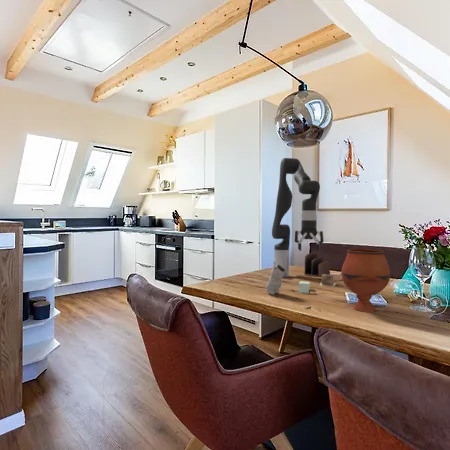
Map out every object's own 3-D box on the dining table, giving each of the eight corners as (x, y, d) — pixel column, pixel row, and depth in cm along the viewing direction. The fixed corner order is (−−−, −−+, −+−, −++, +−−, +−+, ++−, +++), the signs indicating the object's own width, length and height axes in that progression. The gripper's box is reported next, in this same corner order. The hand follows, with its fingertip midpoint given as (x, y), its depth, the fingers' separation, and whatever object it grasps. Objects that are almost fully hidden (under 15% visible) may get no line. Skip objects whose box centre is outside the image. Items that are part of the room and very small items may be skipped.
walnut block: (321, 284, 182) (321, 275, 182) (322, 282, 187) (322, 273, 187) (333, 285, 180) (333, 276, 179) (333, 283, 185) (333, 274, 185)
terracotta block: (331, 282, 194) (331, 274, 194) (329, 281, 199) (330, 272, 199) (340, 282, 194) (340, 274, 193) (338, 281, 199) (338, 272, 198)
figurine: (273, 297, 160) (273, 266, 159) (262, 292, 169) (262, 263, 168) (288, 295, 164) (288, 264, 163) (276, 291, 173) (276, 262, 172)
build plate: (301, 287, 180) (301, 285, 180) (305, 282, 195) (305, 280, 195) (340, 291, 173) (340, 288, 173) (341, 284, 187) (341, 282, 187)
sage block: (298, 292, 169) (298, 283, 169) (300, 290, 174) (300, 281, 174) (308, 293, 167) (308, 283, 167) (310, 291, 172) (310, 282, 172)
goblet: (365, 318, 127) (366, 253, 126) (330, 305, 145) (331, 248, 144) (400, 312, 135) (401, 251, 134) (363, 301, 152) (364, 247, 152)
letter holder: (304, 275, 217) (304, 254, 216) (315, 271, 233) (316, 251, 232) (319, 277, 211) (319, 255, 210) (330, 273, 226) (330, 252, 226)
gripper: (293, 219, 170) (293, 251, 170) (322, 219, 164) (322, 252, 165) (296, 219, 177) (296, 250, 177) (324, 219, 171) (324, 251, 172)
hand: (308, 251), depth 171 cm, fingers open, 8 cm apart
